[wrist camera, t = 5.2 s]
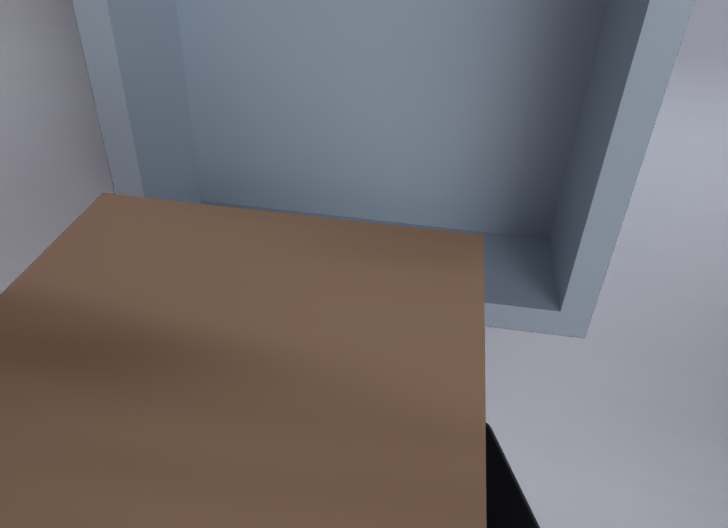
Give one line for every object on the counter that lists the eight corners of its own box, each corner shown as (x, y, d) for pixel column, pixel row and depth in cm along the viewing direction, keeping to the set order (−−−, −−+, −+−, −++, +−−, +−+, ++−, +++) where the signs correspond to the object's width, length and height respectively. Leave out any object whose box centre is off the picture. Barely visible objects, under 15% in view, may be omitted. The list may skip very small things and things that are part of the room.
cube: (440, 480, 11) (417, 878, 7) (160, 438, 11) (-19, 786, 7) (483, 235, 8) (488, 681, 4) (102, 192, 8) (-255, 546, 4)
